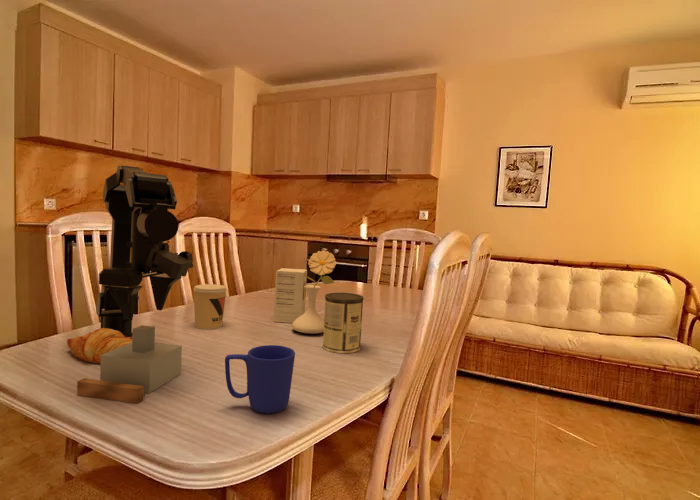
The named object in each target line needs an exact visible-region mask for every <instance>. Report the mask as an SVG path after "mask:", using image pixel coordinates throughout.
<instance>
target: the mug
mask: <svg viewBox="0 0 700 500" xmlns="http://www.w3.org/2000/svg"><path fill="white" fill-rule="evenodd" d="M295 357H296V352H295V350H293V348H290V347H288V346H284V345H276V344H275V345H274V344H269V345H259V346H255V347H252V348H250V349H249V350H248V352H247V354H243V353H241V354H239V353H238V354H237V353H236V354H235V353H234V354H233V353H232V354H227V355H225V358H224V367H225V368H224V369H225V371H224V372H225V380H226V385H227V386H226V388H227V390H228V392H229V394H230V395H231V397H233V398H235V399H243V398H245V397H248V400H249V401H248V402H249V405H250V407H251V408H252V410H254V411H256V412H257V413H260V414H275V413H279V412H282V411H283V410H284V409H286V407H287V406H288V404H289V400H290V395H291V390H292V389H291V388H292V381H293V371H294V364H295ZM231 360H240V361H241V360H242V361H243V362H245V366H246V392H245V393H244V392H243V393H239V392H237V391H236V390H235V388H234V387H233V383H232V380H231V372H230V371H231V369H230V366H231V365H230V361H231Z"/></svg>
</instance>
